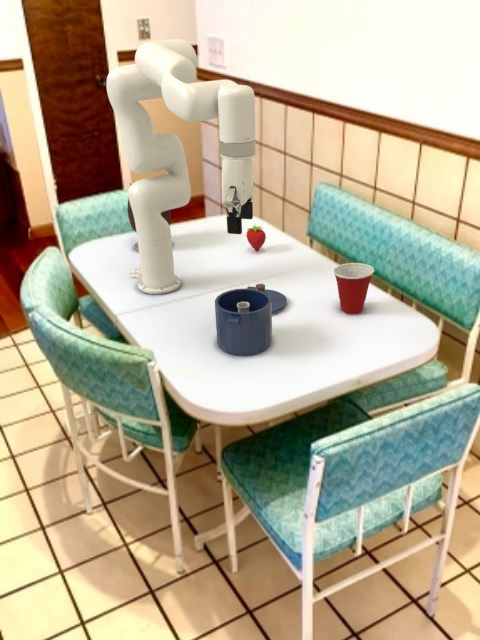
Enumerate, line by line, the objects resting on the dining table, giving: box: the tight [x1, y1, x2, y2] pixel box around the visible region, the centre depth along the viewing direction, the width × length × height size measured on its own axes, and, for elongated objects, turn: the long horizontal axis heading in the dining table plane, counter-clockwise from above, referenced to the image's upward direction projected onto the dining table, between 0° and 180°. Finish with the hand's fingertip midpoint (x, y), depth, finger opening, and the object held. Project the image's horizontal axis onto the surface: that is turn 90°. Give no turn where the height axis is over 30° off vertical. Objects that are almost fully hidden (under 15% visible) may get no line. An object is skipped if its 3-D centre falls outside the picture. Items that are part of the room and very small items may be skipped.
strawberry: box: [245, 224, 267, 252], centre depth 207 cm, size 6×8×10 cm
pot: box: [214, 285, 273, 357], centre depth 156 cm, size 14×19×12 cm
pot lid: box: [255, 283, 288, 314], centre depth 175 cm, size 15×15×6 cm
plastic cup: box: [332, 262, 375, 315], centre depth 170 cm, size 11×11×12 cm
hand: (240, 225), depth 143 cm, fingers open, 9 cm apart
